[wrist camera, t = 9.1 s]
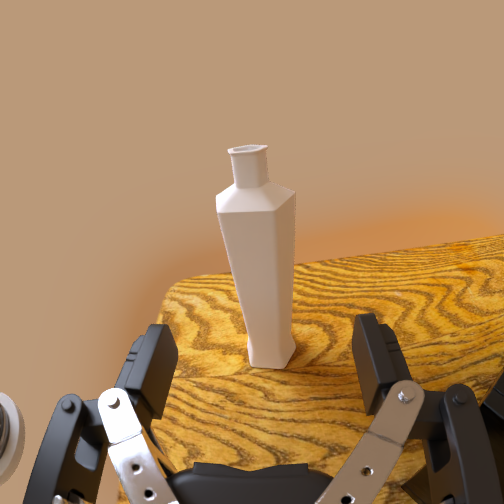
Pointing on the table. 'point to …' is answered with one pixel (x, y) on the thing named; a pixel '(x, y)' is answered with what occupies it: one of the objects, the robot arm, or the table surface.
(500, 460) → the open box
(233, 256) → the perfume bottle
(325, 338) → the table surface
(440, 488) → the robot arm
